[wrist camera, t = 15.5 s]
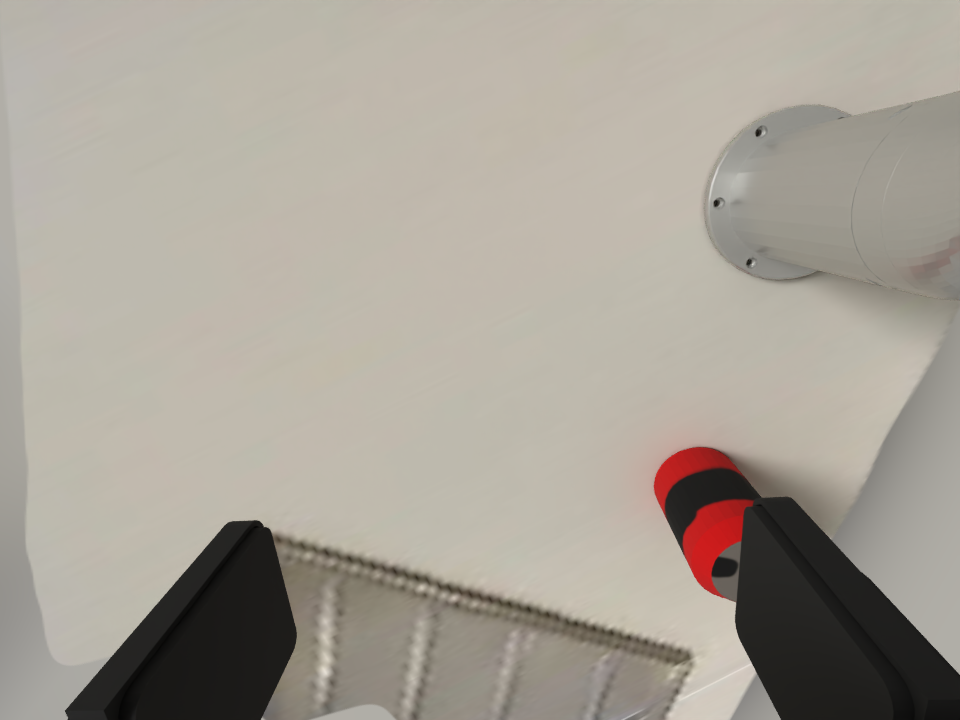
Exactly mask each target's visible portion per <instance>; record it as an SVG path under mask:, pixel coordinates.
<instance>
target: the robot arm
mask: <svg viewBox="0 0 960 720" xmlns="http://www.w3.org/2000/svg"><path fill="white" fill-rule="evenodd" d="M756 130H758V131H759V135H758V136H757V137H756V134H755V132H756ZM714 200H717V202H718V204H717V205H716V206H715V207H714V206H713V203H714ZM704 213H705V223H706V227H707V230H708V233H709V236H710V239H711V241H712V242H713V244H714V246H715V248H716V249H717V251H718V252H719V253H720V254H721V255H722V256H723V258H724V259H725V260H726V261H727V262H729V263H730V264H732V265H733V266H734V267H736V268H737V269H739V270H741V271H743V272H746V273H748V274H750V275H754V276H757V277H761V278H766V279H775V280H782V279H794V278H798V277H802V276H806V275H810V274H812V273H814V272H816V271H823V272H827V273H831V274H835V275H839V276H843V277H847V278H851V279H855V280H860V281H864V282H868V283H872V284H876V285H880V286H884V287H888V288H892V289H897V290H901V291H905V292H909V293H914V294H918V295H922V296H926V297H932V298H939V299H946V300H960V91H957V92H953V93H950V94H946V95H941V96H937V97H933V98H928V99H924V100H920V101H915V102H911V103H907V104H902V105H898V106H894V107H889V108H885V109H881V110H876V111H872V112H868V113H863V114H859V115H855V116H851V115H849V114H847V113H845V112H843V111H841V110H839V109H836V108H832V107H828V106H823V105H799V106H794V107H790V108H785V109H782V110H779V111H776V112H773V113H770V114H768V115H766V116H764V117H762V118H760V119H758V120H757V121H755V122H753V123H752V124H751V125H749V126H748V127H747V128H745V129H744V130H743V131H741V132H740V133H739V134H738V135H737V136H736V137H735V138H734V139H733V140H732V141H731V142H730V143H729V144H728V145H727V147H726V148H725V150H724V151H723V153H722V154H721V156H720V157H719V158H718V160H717V162H716V164H715V166H714V168H713V170H712V173H711V175H710V177H709V181H708V185H707V188H706V192H705V203H704ZM748 259H749V260H750V262H749V264H747V265H746V262H747V260H748ZM735 623H736V629H737V633H738V636H739V639H740V641H741V643H742V645H743V647H744V649H745V651H746V653H747V655H748V657H749V658H750V660H751V662H752V664H753V666H754V668H755V670H756V672H757V674H758V676H759V678H760V680H761V681H762V683H763V686H764V687H765V689H766V691H767V693H768V695H769V697H770V699H771V701H772V703H773V705H774V707H775V709H776V711H777V712H778V715H779V716H780V718H781V720H960V675H959V674H958V673H957V672H956V670H955V669H954V668H953V667H952V666H951V665H950V664H949V663H948V662H947V661H946V660H945V659H944V658H943V657H942V656H941V654H939V652H938V651H937V650H936V649H935V648H934V647H933V646H932V645H931V644H930V643H929V642H928V641H927V639H926V638H924V636H923V635H922V634H921V633H920V632H919V631H918V630H917V629H916V628H915V627H914V626H913V625H912V624H911V622H910V621H909V620H907V618H906V617H905V616H904V615H903V614H902V613H901V612H900V611H899V610H898V609H897V608H896V606H895V605H893V603H892V602H891V601H890V600H889V599H888V598H887V597H886V596H885V595H884V594H883V593H882V592H881V591H880V589H879V588H878V587H877V586H876V585H875V584H874V583H873V582H872V581H871V580H870V579H869V578H868V577H867V576H865V575H864V574H863V573H862V572H860V571H859V570H858V568H857V567H856V566H855V565H854V564H853V563H852V562H851V561H850V560H849V559H848V558H847V557H846V556H845V554H844V553H843V552H841V550H840V549H839V548H838V547H837V546H836V545H835V544H834V543H833V542H832V541H831V539H830V538H829V537H828V536H827V535H826V534H825V533H824V532H823V531H822V530H821V529H820V528H819V527H818V525H817V524H816V523H815V522H814V521H813V520H812V519H811V518H810V517H809V516H808V515H807V514H806V513H805V512H804V510H803V509H802V508H801V507H800V506H799V505H798V504H797V503H796V502H795V501H794V500H793V499H792V498H790V497H773V498H757V499H755V500H754V502H753V506H749V507H746V508H745V510H744V515H743V527H742V540H741V552H740V564H739V577H738V589H737V601H736V614H735ZM296 638H297V632H296V627H295V623H294V619H293V615H292V611H291V607H290V603H289V599H288V595H287V591H286V588H285V584H284V580H283V576H282V572H281V568H280V564H279V560H278V556H277V552H276V549H275V545H274V541H273V537H272V533H271V531H270V529H269V528H267V527H264V526H263V524H262V523H261V522H260V521H257V520H254V521H232V522H228V523H227V524H226V525H225V526H224V527H223V528H222V529H221V531H220V532H219V533H218V534H217V535H216V536H215V538H214V539H213V540H212V541H211V542H210V543H209V544H208V546H207V547H206V548H205V549H204V550H203V551H202V553H201V554H200V555H199V556H198V557H197V558H196V560H195V561H194V562H193V563H192V564H191V565H190V567H189V568H188V569H187V570H186V571H185V572H184V573H183V575H182V576H181V577H180V578H179V579H178V580H177V582H176V583H175V584H174V585H173V586H172V587H171V589H170V590H169V591H168V592H167V593H166V594H165V595H164V597H163V598H162V599H161V600H160V601H159V602H158V604H157V605H156V606H155V607H154V608H153V609H152V611H151V612H150V613H149V614H148V615H147V616H146V618H145V619H144V620H143V621H142V622H141V623H140V624H139V626H138V627H137V628H136V629H135V630H134V631H133V633H132V634H131V635H130V636H129V637H128V638H127V640H126V641H125V642H124V643H123V644H122V645H121V646H120V648H119V649H118V650H117V651H116V652H115V653H114V655H113V656H112V657H111V658H110V659H109V661H108V662H107V663H106V664H105V665H104V666H103V667H102V669H101V670H100V671H99V672H98V673H97V674H96V676H95V677H94V678H93V679H92V680H91V682H90V683H89V684H88V685H87V686H86V687H85V688H84V689H83V691H82V692H81V693H80V694H79V695H78V696H77V698H76V699H75V700H74V701H73V702H72V703H71V704H70V706H69V707H68V708H67V709H66V710H65V712H66V714H67V716H68V720H261V718H262V716H263V714H264V712H265V710H266V708H267V705H268V703H269V701H270V699H271V697H272V695H273V693H274V691H275V689H276V687H277V684H278V682H279V680H280V678H281V676H282V674H283V672H284V670H285V668H286V665H287V663H288V661H289V659H290V657H291V655H292V653H293V650H294V648H295V644H296Z"/></svg>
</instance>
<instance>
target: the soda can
mask: <svg viewBox="0 0 960 720" xmlns="http://www.w3.org/2000/svg"><path fill="white" fill-rule="evenodd" d="M654 491H655V495H656V498H657V500H658V502H659V504H660V506H661V508H662V511H663V513H664V515H665V517H666V519H667V521H668V523H669V525H670V527H671V529H672V531H673V533H674V535H675V537H676V539H677V542H678V544H679V546H680V548H681V550H682V552H683V554H684V556H685V558H686V560H687V562H688V564H689V566H690V568H691V570H692V573H693V575H694V577H695V578H696V580H697V581H698V583H699V584H700V585H701V586H702V587H703V588H704V589H705V590H707V591H709V592H710V593H712V594H714V595H717V596H719V597H722V598H726V599H729V600H731V601H734V602H736V601H737V589H738V577H739V564H740V552H741V540H742V527H743V515H744V510H745V508H746V507H749V506H753V502H754V500H755V499H757V498H761V496H760V495H759V494H758V493H757V491H756V490H755V489H754V488H753V487H752V485H751V484H750V483H749V482H748V481H747V479H746V478H745V477H744V476H743V475H742V473H741V472H740V471H739V470H738V469H737V467H736V466H735V465H734V464H733V463H732V461H731V460H730V459H729V458H728V457H727V456H725V455H724V454H722V453H721V452H719V451H716V450H714V449H710V448H702V447H696V448H689V449H686V450H682V451H680V452H678V453H676V454H674V455H672V456H671V457H670V458H668V459H667V460H666V461H665V462H664V463H663V464H662V465H661V467H660V469H659V470H658V472H657V474H656V477H655V482H654Z"/></svg>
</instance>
